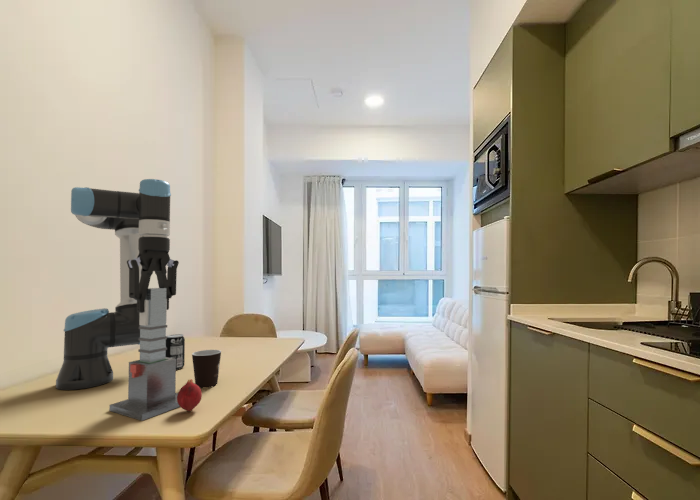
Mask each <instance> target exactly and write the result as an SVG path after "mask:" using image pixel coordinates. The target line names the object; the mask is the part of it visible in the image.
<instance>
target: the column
mask: <svg viewBox="0 0 700 500" xmlns="http://www.w3.org/2000/svg"><path fill="white" fill-rule="evenodd" d="M145 300H149V314H148V325H146V326H145V325H140V326H139V329H140V338H139V340H140V345H139V349H138V353H139V360H140V361H138V362H141V363H146V364H151V363H155V362H159V361H164V360H167V359H166V350H167V348H166V339H167V336H168V335H167V328H168V325H167V320H166V288H159V287H148V291H147V295H146V299H145Z"/></svg>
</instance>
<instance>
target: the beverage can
mask: <svg viewBox="0 0 700 500" xmlns="http://www.w3.org/2000/svg"><path fill="white" fill-rule="evenodd" d="M166 336H167V339H166V348H167V350H166V357H168V358H174V359H176V371H177V370H182V369H183V368H184V366H185V359H186V358H185V348H186V347H185V345H186V343H185V342H186V341H185V339H186V338H185V337H184V334H182V333H181V334H179V333H178V334H175V333H174V334H169V335H166Z"/></svg>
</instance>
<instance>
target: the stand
mask: <svg viewBox="0 0 700 500" xmlns="http://www.w3.org/2000/svg"><path fill="white" fill-rule="evenodd" d="M166 359H167V360H164V361H159V362H155V363H151V364H146V363H141V362H138V361H140V359H136V360H133V361H129V362H128V383H127V384H128V385H127V386H128V388H127V389H128V390H127V391H128V392H127V393H128V395H127V399H124V400H120V401H117V402H115V403H111V404H109V407H108V408H109V409H108V410H109V411H110V412H113V413H116V414H119V415H122V416H125V417H128V418H131V419H136V420H138V421H145V420H148V419H151V418H153V417H156V416H160V415H161V414H165V413H166V412H170V411H172V410H175V409H178V408H181V407H180V406H179V404H178V402H177V395H178V392H176V384H177V383H176V382H177V381H176V379H177V376H176V373H177V372H176V371H177V370H176V359H174V358H168V357H166Z"/></svg>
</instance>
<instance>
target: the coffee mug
mask: <svg viewBox="0 0 700 500" xmlns="http://www.w3.org/2000/svg"><path fill="white" fill-rule="evenodd" d="M221 357H222V350H221V349H204V350H197V351H194V352H191V358H192V368H193V374H194V383H195V384H196V385H198V386H199V387H200V389H204V388H203V387H208V388H212V387H211V386H213V387H215V386H217V385H218V383H219V381H218V380H219V373H220V365H221ZM216 384H217V385H216ZM214 385H215V386H214Z"/></svg>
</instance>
